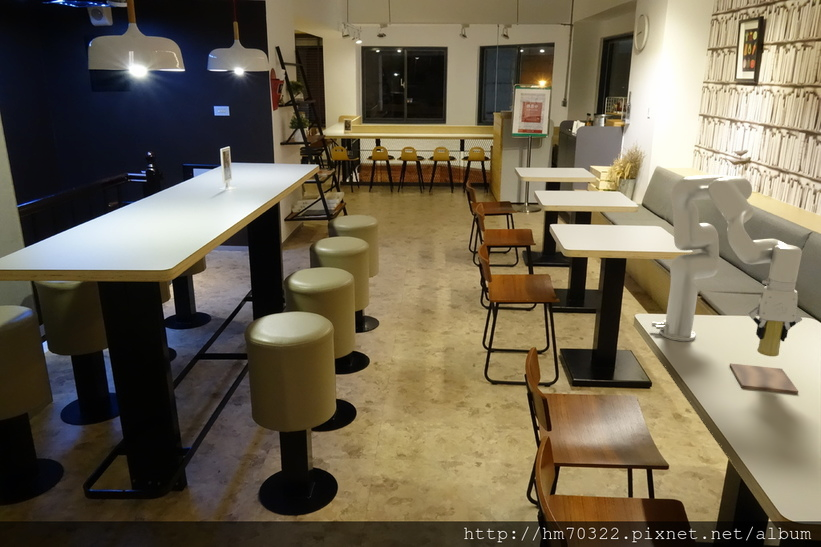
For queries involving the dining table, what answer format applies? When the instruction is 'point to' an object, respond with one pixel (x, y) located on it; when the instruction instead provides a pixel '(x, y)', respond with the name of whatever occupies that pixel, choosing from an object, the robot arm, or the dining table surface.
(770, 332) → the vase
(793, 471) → the dining table surface
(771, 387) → the coaster board
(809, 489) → the dining table surface
